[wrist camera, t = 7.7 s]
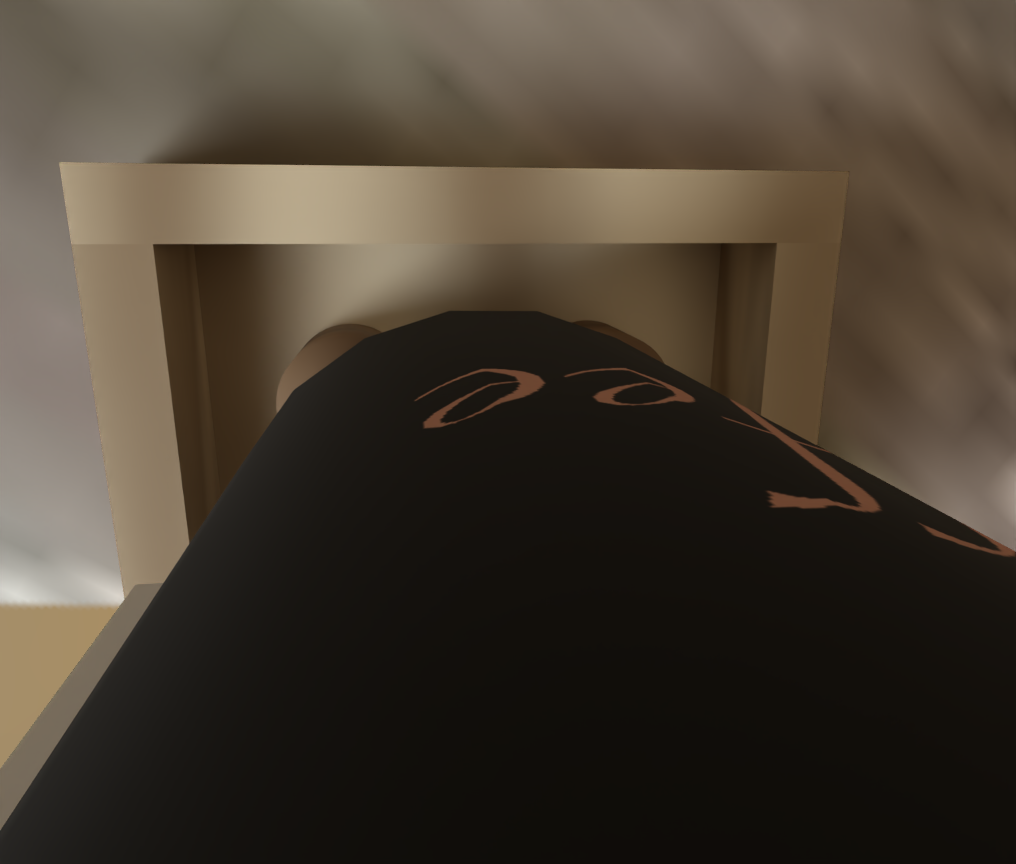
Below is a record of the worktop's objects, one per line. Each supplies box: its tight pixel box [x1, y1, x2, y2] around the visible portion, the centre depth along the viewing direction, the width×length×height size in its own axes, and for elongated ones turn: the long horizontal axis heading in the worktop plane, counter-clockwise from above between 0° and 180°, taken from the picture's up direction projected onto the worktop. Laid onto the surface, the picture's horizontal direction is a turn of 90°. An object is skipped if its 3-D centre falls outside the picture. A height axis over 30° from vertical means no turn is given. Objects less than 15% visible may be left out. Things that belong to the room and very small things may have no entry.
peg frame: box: [59, 162, 849, 598], centre depth 19 cm, size 16×16×4 cm
